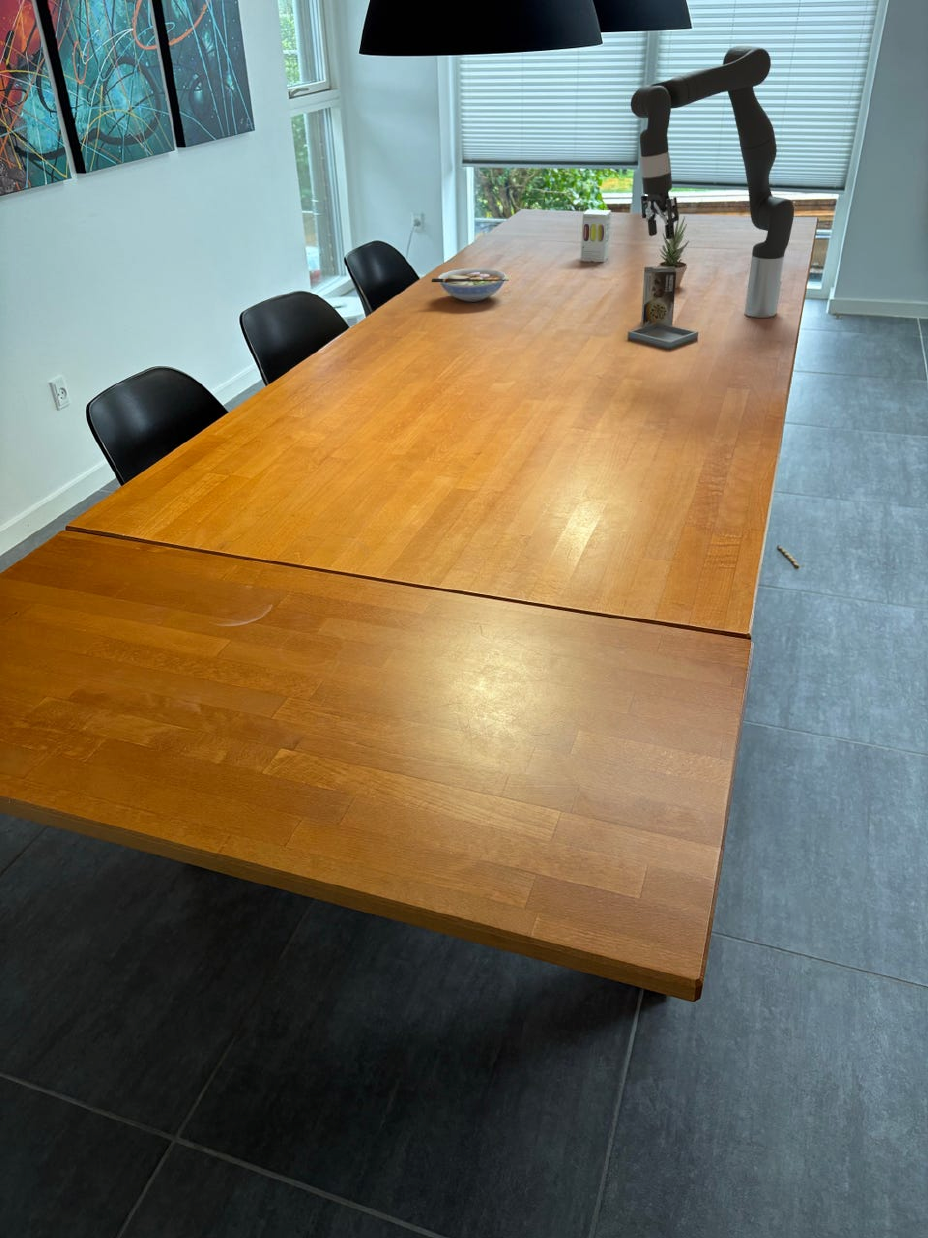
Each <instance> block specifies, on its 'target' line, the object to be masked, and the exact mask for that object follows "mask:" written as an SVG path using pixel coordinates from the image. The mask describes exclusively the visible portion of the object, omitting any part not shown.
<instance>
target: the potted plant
mask: <svg viewBox="0 0 928 1238" xmlns="http://www.w3.org/2000/svg"><path fill="white" fill-rule="evenodd" d="M680 212H681V208H679V209H678V217H679V218H680V214H681V213H680ZM685 219H686V215H685V216H684V217H683V219H682V221H681V223H680V219H679V220H678V221H676V225H675V228H674V238H672V239H666V235H665V234H664V233H662V236H663V240H664V243H665V245H664V244H662V250H661V249H659V251H660V252H661V254H662V255H661V254H660V257H661V258H662V259H663V261H661V262H659V263H658V266H657V267H665V266H675V269H676V284H675V289H678V288H680V286H681V282H682V280H683V277H684V275H685V272H686V271H687V268H688V264H687V263H686V262H684V261H683V262H682V260H683V259H682V258H681V256H682V254H683V251H684V250H685V248H686V247H687V245H688V244H689V242H690V241H689V240H688V241H687V242H685V244H684V245H682V246H681V247H679V246H680V244H681V242H682V240H683V239H684V235H685V234H684V232H685V230H686V227H687V225H688V223H686V224H685V226H684V222H685ZM679 223H680V224H679ZM679 225H680V226H679ZM682 228H683V229H682ZM668 240H669V241H668ZM665 246H666V247H665ZM679 259H680V260H679Z"/></svg>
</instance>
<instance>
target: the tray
mask: <svg viewBox="0 0 928 1238" xmlns="http://www.w3.org/2000/svg"><path fill="white" fill-rule="evenodd" d="M698 338H699V331H696V330H691V329H688V328H683V327H679V326H674V325H672V326H671V325H667V324H663V323H659V322H655V323H652V324H649V325H646V326H643V327H642V326H640V327H638V328H635V329H632V330H629V331H628V332H627V340H630V341H633V342H637V343H641V344H645V345H649V346H652V347H657V348H659V349H663V350H667V351H670V350H673V349H676V348H679V347H681V346H685V345H687V344H690V343H692V342H695V341H697V340H698Z"/></svg>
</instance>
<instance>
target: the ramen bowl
mask: <svg viewBox="0 0 928 1238" xmlns="http://www.w3.org/2000/svg"><path fill="white" fill-rule="evenodd" d="M507 281H509V279H507V275H506V273H505V272H503V271H500V270H497V269H491V268H481V267H480V268H475V267H473V268H460V269H454V270H449V271H446V272H442V273H441V274H440V275H439V276H437V278H432V279H431V283H440V285H441V286H442V289H443V290H444V291H445V292H446V293H447V294H449V295H450V296H451V297H453V298H456V299H459V300H461V301H463V302H466V303H467V302H468V303H469V302H470V303H473V302H475V303H476V302H480V301H484V299H486V298H489V297H491V296H493V295H494V294H496V293H497V292H498V291H499V290H500V289H501V288H502V286H503V285H504V282H507Z"/></svg>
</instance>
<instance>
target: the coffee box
mask: <svg viewBox="0 0 928 1238" xmlns="http://www.w3.org/2000/svg"><path fill="white" fill-rule="evenodd" d="M643 271H644V272H643V287H642V288H643V289H642V302H641V303H642V304H641V317H640V318H641V320H640V323H641V327H643V326H646V325H649V324H652V323H655V322H659V323H663V324H667V325H671V326H673V323H674V306H675V297H676V296H675V293H676V288H675V284H676V269H675V266H665V267H658V266H644V270H643Z"/></svg>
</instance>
